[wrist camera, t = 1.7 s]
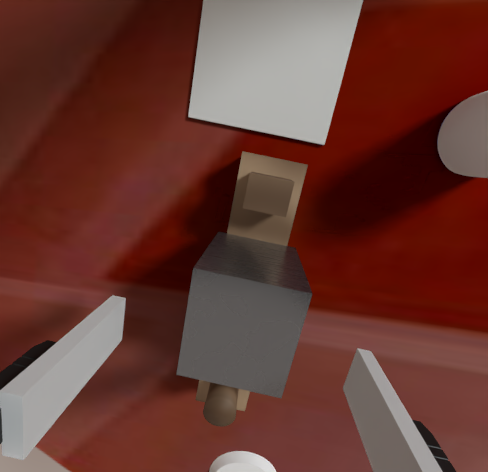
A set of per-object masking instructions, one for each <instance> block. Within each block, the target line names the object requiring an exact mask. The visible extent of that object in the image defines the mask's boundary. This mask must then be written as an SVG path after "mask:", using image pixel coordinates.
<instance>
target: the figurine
mask: <svg viewBox="0 0 488 472" xmlns="http://www.w3.org/2000/svg"><path fill="white" fill-rule="evenodd" d="M209 472H276V470H275V468H274V467H273V465H272V464H271V463H270V462H269V461H268V460H266V459H265V458H263V457H261V456H259V455H257V454H254V453H251V452H245V451H234V452H228V453H226V454H223V455H221V456H219V457H218V458H217V459H216V460H214V462H213V463H212V465H211V467H210V471H209Z"/></svg>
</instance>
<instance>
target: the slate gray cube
mask: <svg viewBox="0 0 488 472" xmlns="http://www.w3.org/2000/svg"><path fill="white" fill-rule="evenodd" d="M311 297H312V291H311V289H310V286H309V283H308V280H307V278H306V275H305V272H304V270H303V267H302V264H301V261H300V259H299V256H298V253H297V251H296V248H294V247H289V246H284V245H280V244H275V243H270V242H266V241H261V240H256V239H252V238H247V237H242V236H238V235H233V234H228V233H224V232H218V233H217V234H216V236H215V237H214V239H213V240H212V242H211V243H210V245H209V246H208V247H207V249H206V250H205V252H204V253H203V255H202V256H201V258H200V259H199V260H198V262H197V263H196V265H195V266H194V268H193V273H192V279H191V286H190V292H189V298H188V305H187V311H186V317H185V323H184V330H183V336H182V342H181V349H180V355H179V361H178V368H177V374H176V375H180V376H185V377H189V378H194V379H198V380H203V381H207V382H211V383H216V384H220V385H225V386H229V387H234V388H238V389H243V390H247V391H251V392H256V393H260V394H265V395H269V396H274V397H278V398H281V397H282V394H283V391H284V387H285V384H286V381H287V377H288V374H289V371H290V367H291V364H292V361H293V357H294V354H295V350H296V347H297V344H298V340H299V337H300V334H301V330H302V327H303V324H304V320H305V317H306V314H307V310H308V307H309V304H310V300H311Z"/></svg>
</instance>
